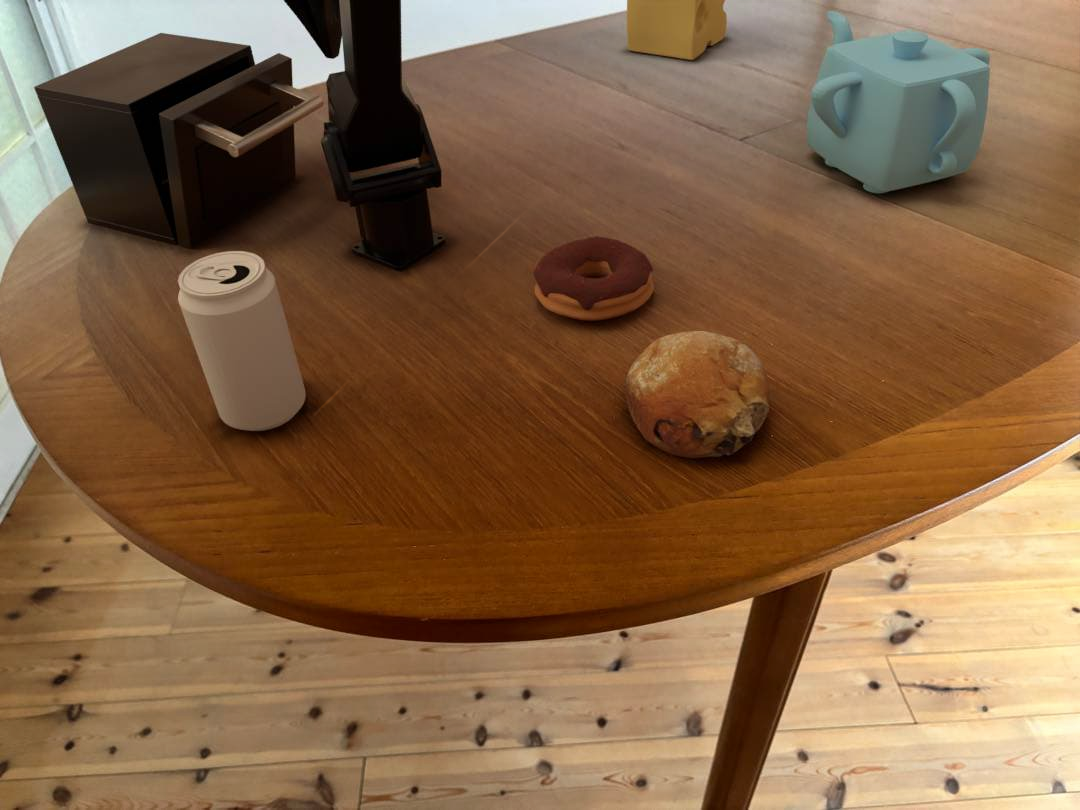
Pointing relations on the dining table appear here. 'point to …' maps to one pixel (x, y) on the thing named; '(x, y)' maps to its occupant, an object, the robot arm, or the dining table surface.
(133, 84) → the oven
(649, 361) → the bread roll
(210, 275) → the beverage can
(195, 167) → the oven door
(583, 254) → the donut
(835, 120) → the teapot
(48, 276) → the dining table surface
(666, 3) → the cheese
